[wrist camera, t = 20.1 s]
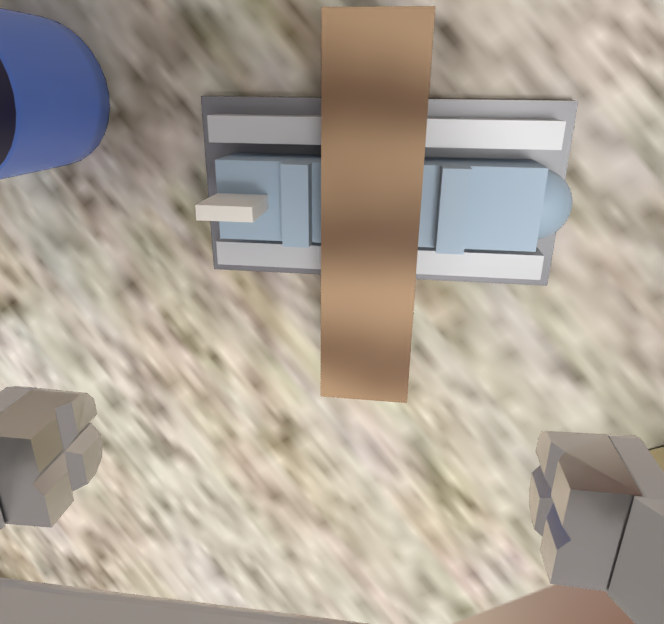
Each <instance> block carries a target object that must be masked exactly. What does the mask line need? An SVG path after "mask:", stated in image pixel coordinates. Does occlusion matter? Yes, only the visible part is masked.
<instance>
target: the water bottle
mask: <svg viewBox="0 0 664 624" xmlns="http://www.w3.org/2000/svg"><path fill="white" fill-rule="evenodd" d="M109 111H110V103H109V92H108V88H107V84H106V80H105V77H104V74H103V72H102V70H101V67H100V65H99V63H98V61H97V60H96V58H95V56H94V55H93V53H92V52H91V50H90V49H89V48H88V47H87V45H86V44H85V43H84V42H83V41H82V40H81V38H79V37H78V36H77V35H76V34H75V33H73V32H72V31H71V30H70V29H68V28H67V27H65V26H63V25H61V24H60V23H58V22H56V21H53V20H50V19H47V18H44V17H40V16H35V15H31V14H26V13H21V12H16V11H11V10H6V9H1V8H0V179H4V178H9V177H13V176H18V175H23V174H27V173H32V172H37V171H41V170H46V169H50V168H55V167H60V166H64V165H69V164H72V163H75V162H78V161H80V160H82V159H83V158H85V157H86V156H88V155H89V154H91V153H92V151H93V150H94V149H95V148H96V147H97V146H98V145H99V143H100V141H101V139H102V138H103V136H104V134H105V131H106V128H107V124H108V120H109Z"/></svg>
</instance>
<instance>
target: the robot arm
mask: <svg viewBox="0 0 664 624" xmlns="http://www.w3.org/2000/svg"><path fill="white" fill-rule="evenodd" d="M96 415H97V411H96V407H95V402H94V398H93V397H91V396H90V395H89V394H88V393H81V392H72V391H62V390H52V389H42V388H34V387H19V386H14V387H6V388H5V389H4V390H2V391H1V392H0V529H1V528H3V527H5V524H16V525H28V526H40V527H52V526H53V525H54V524H55V523H56V522H57V520H58V519H59V518H60V517H61V516H62V514H63V513H64V512H65V511H66V509H67V508H68V507H69V506H70V505H71V503H72V502H73V501H74V498H73V491H74V490H76V489H78V488H80V487H82V486H84V485H86V484H88V483H89V481H90V480H91V479H92V478H93V476H94V475H95V474H96V472H97V469H98V467H99V464H100V461H101V458H102V446H103V445H102V439H101V434H100V433H99V431H98V430H97V429H96V428H95V427H94V426H93V425H92V421H93V419H94V418H95V416H96ZM536 453H537V456H538V459H539V462H540V466H539V467H538V468H537V469H535V470H534V471H533V472H532V475H531V481H530V488H529V507H530V514H531V519H532V523H533V527H534V529H535V530H536V531H537V532H538V533H539V534H540V535H541V536H543V538H542V543H541V548H540V551H541V555H542V558H543V561H544V565H545V568H546V571H547V575H548V578H549V582H550V584H557V585H564V586H572V587H578V588H585V589H592V590H600V591H607V592H608V595H609V596H610V598H611V599H612V600H613V601H614V602H615V603H616V604H617V605H618V606H619V607H620V608H621V609H622V610H623V611H624V612H625V613H626V614H627V615H628V617H630V619H631V620H632V621H633V622H634V623H635V624H664V472H663V471H662V469H661V468H660V466H659V465H658V463H657V462H656V460H655V459H654V458H653V456H652V455H651V453H650V452H649V450H648V449H647V447H646V446H645V444H644V443H643V441H642V440H641V439H640V438H638V437H636V436H633V435H611V434H588V433H571V432H553V431H541V433H540V436H539V438H538V442H537V447H536ZM0 624H368V623H360V622H352V621H344V620H336V619H328V618H320V617H313V616H305V615H297V614H289V613H281V612H272V611H264V610H256V609H248V608H240V607H232V606H224V605H216V604H208V603H200V602H192V601H184V600H176V599H167V598H159V597H151V596H143V595H135V594H127V593H119V592H111V591H103V590H95V589H87V588H79V587H72V586H64V585H56V584H48V583H40V582H32V581H24V580H16V579H8V578H0Z"/></svg>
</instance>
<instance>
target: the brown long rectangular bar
mask: <svg viewBox="0 0 664 624" xmlns="http://www.w3.org/2000/svg"><path fill="white" fill-rule="evenodd" d="M434 17H435V6H409V7H322V34H321V396H324V397H337V398H350V399H363V400H376V401H389V402H402V403H407V393H408V379H409V366H410V352H411V338H412V324H413V310H414V296H415V282H416V268H417V254H418V240H419V226H420V212H421V198H422V184H423V170H424V156H425V143H426V129H427V115H428V101H429V87H430V73H431V59H432V45H433V31H434Z"/></svg>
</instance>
